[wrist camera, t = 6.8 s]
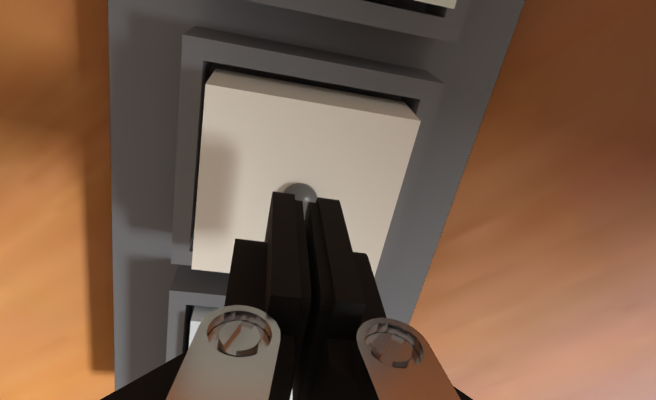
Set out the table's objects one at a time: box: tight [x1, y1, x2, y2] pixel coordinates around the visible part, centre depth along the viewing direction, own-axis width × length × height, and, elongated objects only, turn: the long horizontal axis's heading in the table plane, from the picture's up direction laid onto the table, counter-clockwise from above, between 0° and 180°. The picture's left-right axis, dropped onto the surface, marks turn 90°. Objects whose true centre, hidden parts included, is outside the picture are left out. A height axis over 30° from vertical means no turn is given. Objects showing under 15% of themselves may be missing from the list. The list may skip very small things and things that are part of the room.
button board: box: [108, 0, 525, 391], centre depth 16 cm, size 13×27×4 cm, turn 169°
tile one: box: [191, 69, 421, 277], centre depth 14 cm, size 6×6×2 cm
